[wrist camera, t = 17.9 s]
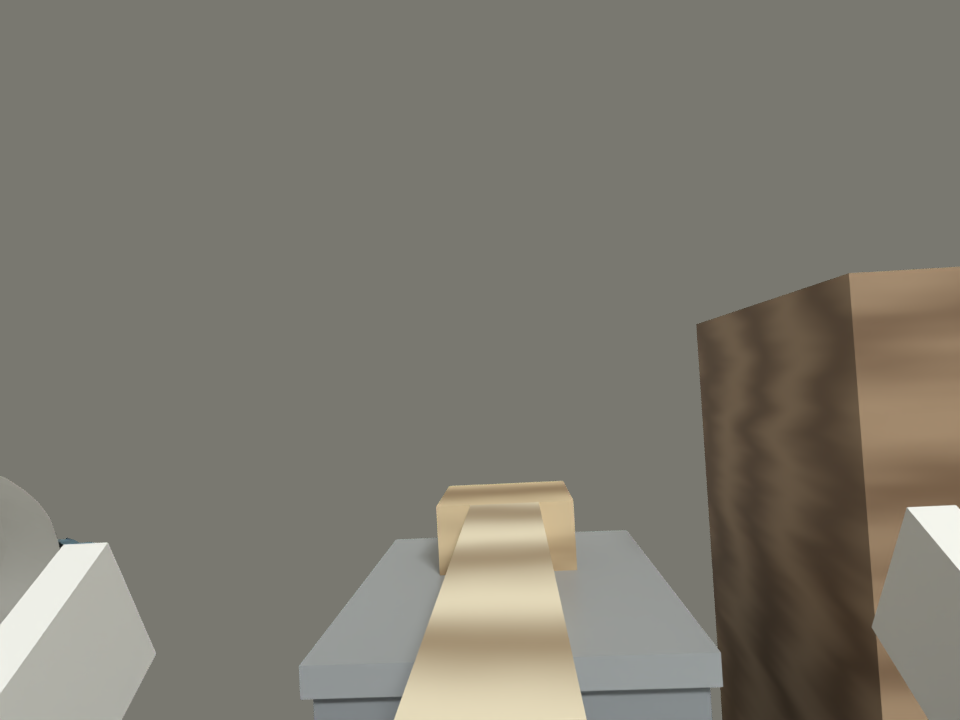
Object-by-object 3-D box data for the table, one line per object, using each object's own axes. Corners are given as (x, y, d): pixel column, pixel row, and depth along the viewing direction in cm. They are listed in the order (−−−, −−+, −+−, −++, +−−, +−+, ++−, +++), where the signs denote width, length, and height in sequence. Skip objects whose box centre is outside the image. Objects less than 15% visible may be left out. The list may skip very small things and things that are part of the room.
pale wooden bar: (698, 919, 10) (685, 716, 10) (305, 925, 10) (296, 727, 10) (566, 538, 35) (562, 480, 35) (452, 543, 35) (449, 486, 35)
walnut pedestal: (1300, 1326, 18) (1196, 252, 20) (928, 1319, 19) (848, 273, 20) (924, 875, 35) (881, 314, 37) (733, 878, 36) (696, 324, 37)
